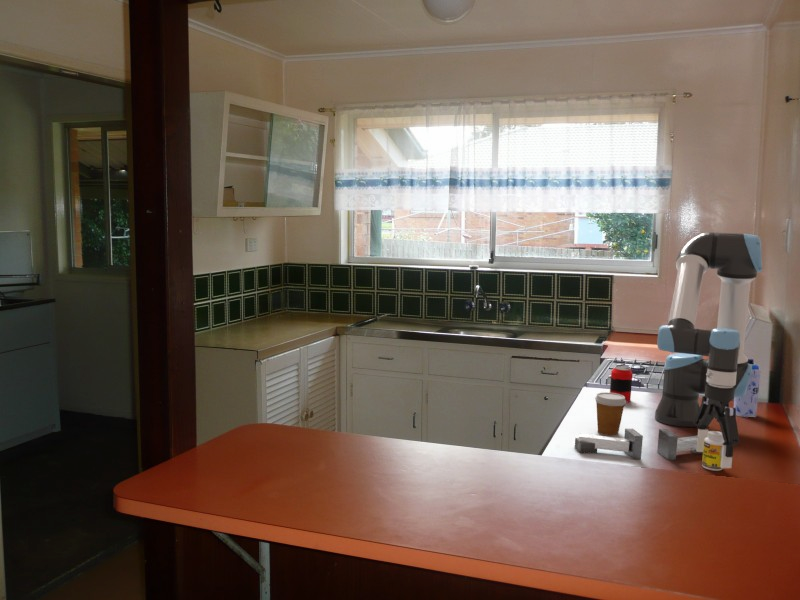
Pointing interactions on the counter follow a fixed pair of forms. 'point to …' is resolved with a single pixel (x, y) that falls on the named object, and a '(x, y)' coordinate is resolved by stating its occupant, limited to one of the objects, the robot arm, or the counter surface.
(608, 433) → the disposable coffee cup
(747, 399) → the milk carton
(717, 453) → the supplement bottle
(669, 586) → the counter surface
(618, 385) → the soda can
